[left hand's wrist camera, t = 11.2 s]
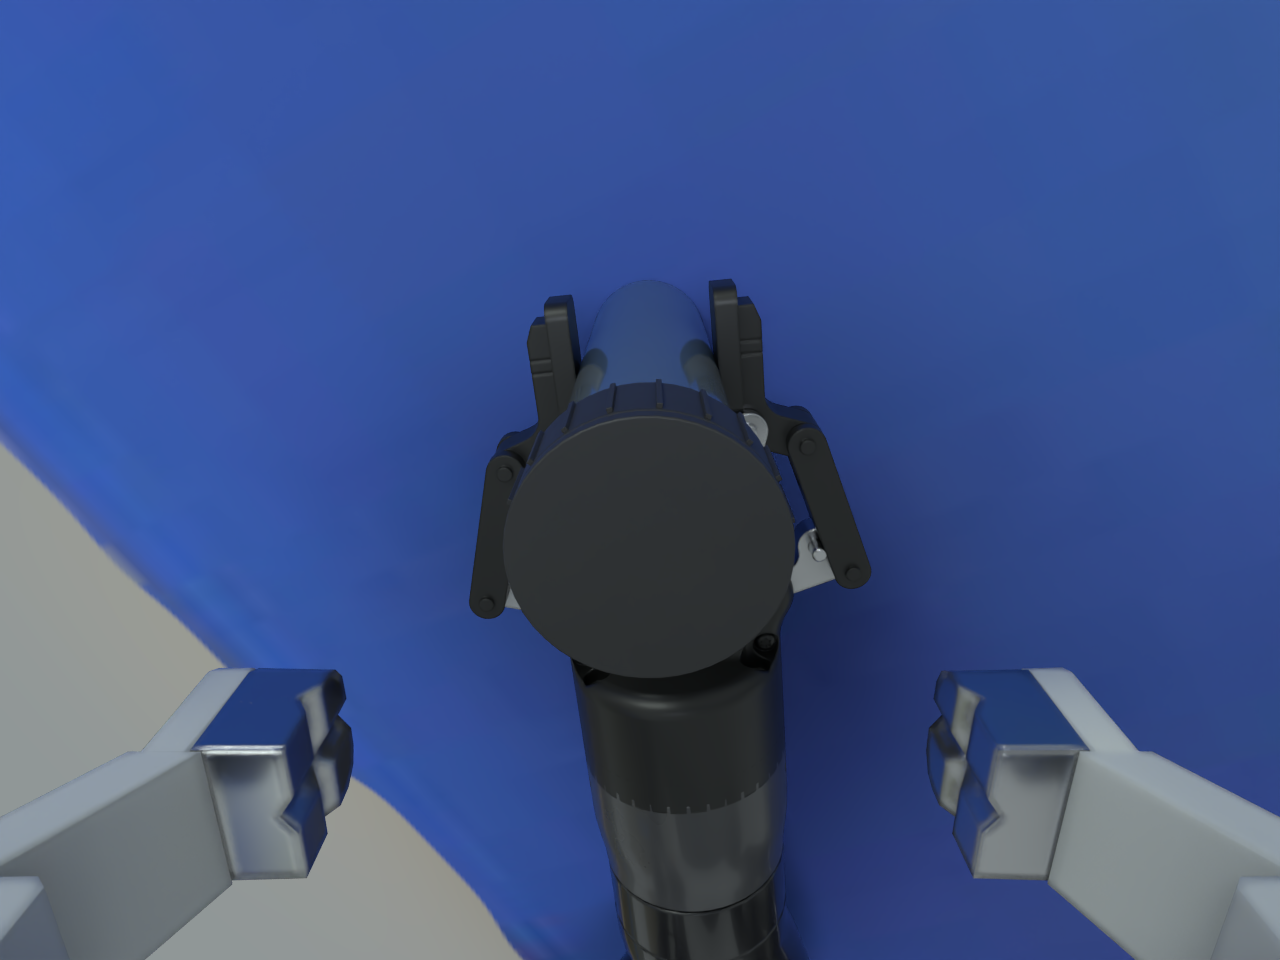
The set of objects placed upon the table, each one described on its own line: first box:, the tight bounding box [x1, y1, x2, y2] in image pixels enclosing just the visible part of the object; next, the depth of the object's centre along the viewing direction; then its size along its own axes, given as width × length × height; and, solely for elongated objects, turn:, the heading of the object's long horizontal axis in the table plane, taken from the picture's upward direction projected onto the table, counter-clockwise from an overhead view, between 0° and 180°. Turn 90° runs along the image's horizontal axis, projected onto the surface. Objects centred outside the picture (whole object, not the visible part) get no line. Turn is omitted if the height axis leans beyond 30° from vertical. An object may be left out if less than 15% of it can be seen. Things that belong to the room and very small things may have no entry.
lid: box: [503, 379, 795, 678], centre depth 16 cm, size 5×5×2 cm
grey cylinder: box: [566, 280, 731, 410], centre depth 24 cm, size 4×4×18 cm
